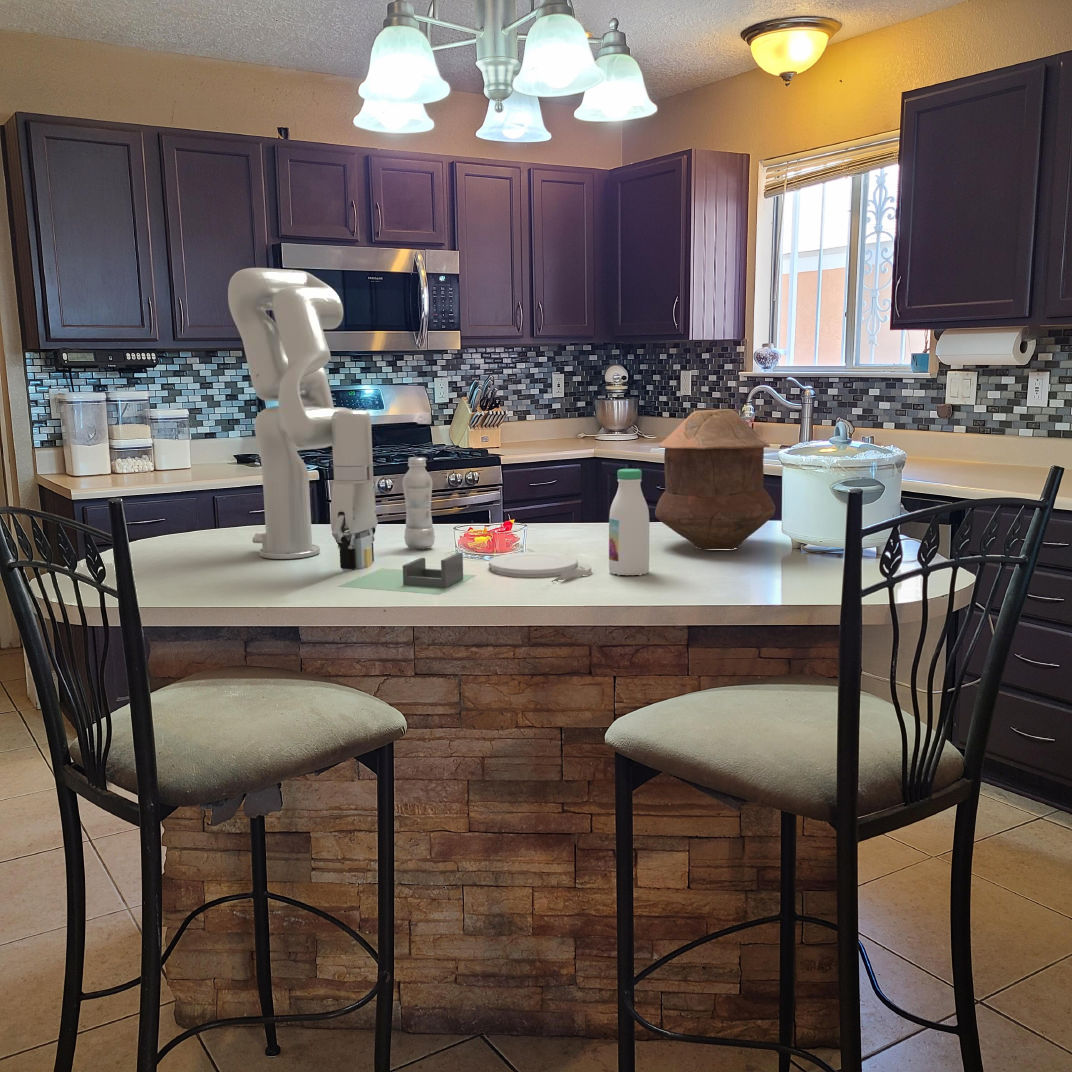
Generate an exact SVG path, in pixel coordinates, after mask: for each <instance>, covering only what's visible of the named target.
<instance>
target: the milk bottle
mask: <svg viewBox="0 0 1072 1072" xmlns="http://www.w3.org/2000/svg"><path fill="white" fill-rule="evenodd" d="M642 473H643V472H642V470H641V469H638V468H620V469H618V470H617V482H618V487H617V491H616V494H615V496H614V497H613V500H612V503H611V505H610V509H609V516H608V517H609V518H608V571H609V572H610V573H611V574H612V575H615V574H617V575H616V576H620V575H639V576H641V575H640V574H644V575H646V574H645V573H647V572H648V573H649V571H650V512H649V511H650V510H649V506H648V504H647V501H646V498H645V497H644V493H643V490H642V487H641V483H642V481H643V480H642V477H643V475H642ZM648 573H647V574H648Z"/></svg>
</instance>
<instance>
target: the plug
mask: <svg viewBox="0 0 1072 1072" xmlns="http://www.w3.org/2000/svg"><path fill="white" fill-rule="evenodd" d="M346 532H349V530H347V531H346ZM345 537H346V538H347V540H348V541H349V536H345ZM353 549H355V554H356V569H364V568H369V567H372V565H373V563H374V562H372V537H371V535H368V531H363V532H360V533H357V534H355V539H354V545H353ZM341 570H342V571H341V572H342V573H341V574H345V573H347V572H350V571H353V570H354V569H342V568H341Z"/></svg>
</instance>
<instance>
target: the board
mask: <svg viewBox="0 0 1072 1072" xmlns="http://www.w3.org/2000/svg"><path fill="white" fill-rule="evenodd" d="M476 576H477V574H469V573H468V574H467V573H466V574H465V573H463V580H462V581H460V582H458V583H456V584H454V585H452V586H450V587H448V588H433V587H420V586H407V585H403V569H396V568H379V569H377V570H375V571H372V572H370V573H367V574H364V575H362V576H359V577H357V578H355V579H352V580H350V581H348V582H347V581H346V582H345V583H343V584H340V585H338V586H337V587H341V588H352V589H353V588H355V589H366V590H376V591H377V590H378V591H388V592H390V591H393V592H401V593H404V592H405V593H415V594H429V595H441V594H443V593H445V592H447V591H449V590H451V589H453V588H455V587H457V586H459V585H461V584H462V583H465V582H467V581H469V580H470V579H472V578H474V577H476Z"/></svg>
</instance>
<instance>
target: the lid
mask: <svg viewBox="0 0 1072 1072" xmlns="http://www.w3.org/2000/svg"><path fill="white" fill-rule="evenodd" d="M488 567H489V568H490V571H492V572H493V573H495V574H498V575H500V576H506V577H514V578H515V577H516V578H545V577H546V578H548V577H555V579H553V580H552V581H551V582H553V581H558V580H564V579H568V578H571V577H576V578H579V577H578V576H583V575H589V574H590V573H591V574H592V566H591V565H590V564H587V563H585V562H580V561H578V559H577V557H574V556H572V555H570V554H564V553H559V552H546V551H544V552H543V551H525V552H523V551H521V552H512V553H506V554H500V555H497V556H494V557H492V558H490V559H489V561H488ZM591 574H590V575H591ZM590 575H589V576H590ZM556 577H557V578H556ZM571 579H572V578H571ZM568 580H569V579H568ZM564 581H565V580H564ZM553 583H554V582H553Z"/></svg>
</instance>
